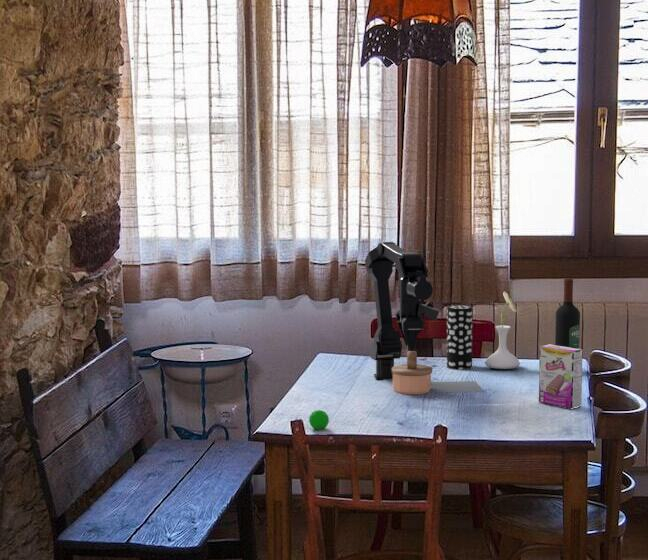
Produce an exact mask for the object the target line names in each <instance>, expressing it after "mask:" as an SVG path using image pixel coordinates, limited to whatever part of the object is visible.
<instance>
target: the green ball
mask: <svg viewBox="0 0 648 560" xmlns="http://www.w3.org/2000/svg"><path fill="white" fill-rule="evenodd" d="M329 419H330V418H329V416H328V414H327V413H326V412H325V411H323V410H321V409H318V410H314V411H313V412H311V413H310V415H309V419H308V420H309V425H310V426H311V428H312V429H315V430H316V429H318V430H317V431H321V430H320V429H322V430H324V429H325V428H326V427H327V426H328V424H329V423H330V420H329Z"/></svg>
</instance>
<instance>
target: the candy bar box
mask: <svg viewBox="0 0 648 560" xmlns="http://www.w3.org/2000/svg"><path fill="white" fill-rule="evenodd" d="M583 356H584V355H583V349H582V348H581V349H580V348H579V349H576V348H569V347H563V346H557V345H555V344H551V343H549V344H543V345H541V346H539V368H538V369H539V373H538V375H539V376H538V377H539V378H538V381H539V382H538V388H539V389H538V403H540V404H545V405H548V404H549V405H548V406H553V405H555V406H554V407H557V406H561V407H560V408H562V407H566V408H565V409H567V408H574V407H577V406H580V405H581V406H582V392H583V391H582V387H583V386H582V384H583V382H582V381H583Z"/></svg>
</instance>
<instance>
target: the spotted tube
mask: <svg viewBox="0 0 648 560" xmlns="http://www.w3.org/2000/svg"><path fill="white" fill-rule="evenodd" d="M473 307H474V306H471V305H461V304H460V305H458V304H457V305H454V304H453V305H448V306H446V368H447V369H451V370H457V371H459V370H460V371H461V370H464V369H465V370H470V369H472V368H473V321H474V319H473Z"/></svg>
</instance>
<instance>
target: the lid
mask: <svg viewBox="0 0 648 560" xmlns="http://www.w3.org/2000/svg"><path fill="white" fill-rule="evenodd" d="M417 354H418V352H417V350H414V351H410V350H408V351H407V352H406V356H407V357H406V359H407V363H405V364H399V365H394V367H392V373H394V374H397V375H403V376H423V375H428V374H431V375H432V374H433V367H432V366H429V365H425V364H418V363H417V362H418V359H417V357H418V355H417Z"/></svg>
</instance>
